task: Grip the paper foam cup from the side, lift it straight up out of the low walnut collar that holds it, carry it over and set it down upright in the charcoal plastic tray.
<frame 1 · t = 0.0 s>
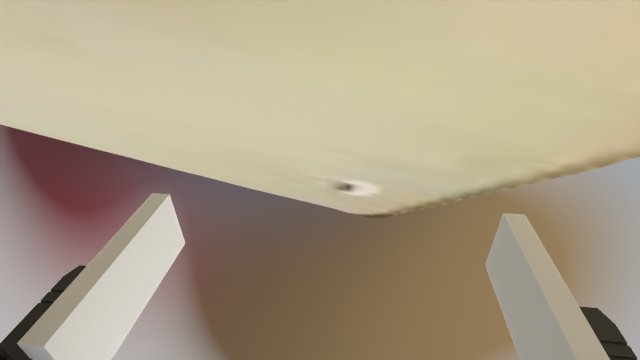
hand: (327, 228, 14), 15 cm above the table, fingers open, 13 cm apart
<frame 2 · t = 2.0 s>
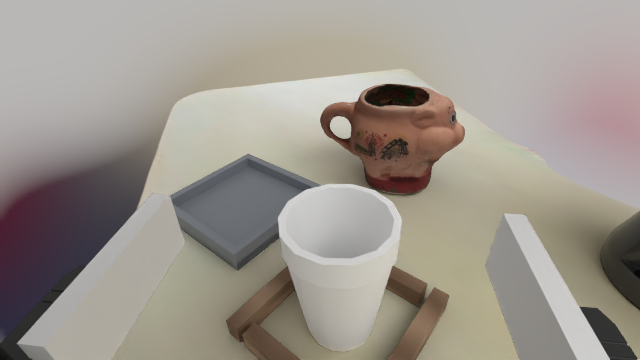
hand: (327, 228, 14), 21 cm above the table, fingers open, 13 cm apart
charcoal tray: (245, 208, 49), on the table
sculpted ceramic mug: (384, 179, 54), on the table
walnut collar: (340, 320, 34), on the table
foam cup: (340, 321, 34), on the table
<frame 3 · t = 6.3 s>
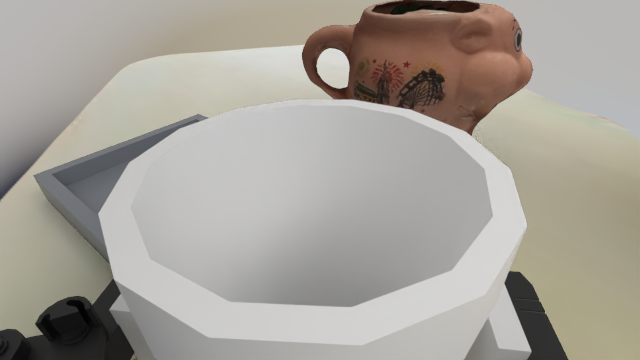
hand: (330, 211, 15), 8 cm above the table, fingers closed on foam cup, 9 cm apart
charcoal tray: (180, 189, 31), on the table
sculpted ceramic mug: (398, 152, 36), on the table
when the fingers open (10 cm above the table, at t = 11.5 s): foam cup drops 1 cm, resting on charcoal tray.
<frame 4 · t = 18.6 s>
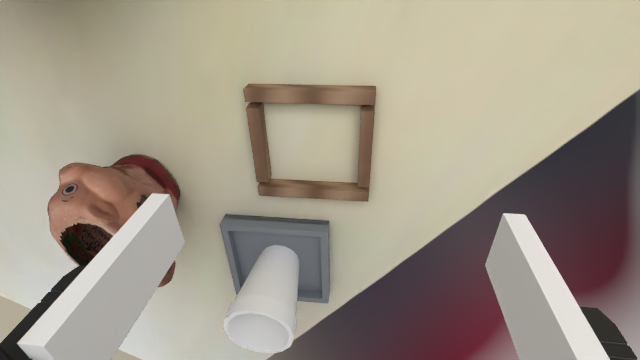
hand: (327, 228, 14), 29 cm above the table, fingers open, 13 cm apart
charcoal tray: (280, 255, 57), on the table
sculpted ceramic mug: (158, 188, 52), on the table
walnut collar: (312, 142, 44), on the table
foam cup: (280, 258, 56), point 1 cm above the table, touching charcoal tray
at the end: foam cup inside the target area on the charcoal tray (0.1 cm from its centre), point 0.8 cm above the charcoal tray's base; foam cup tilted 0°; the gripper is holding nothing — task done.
